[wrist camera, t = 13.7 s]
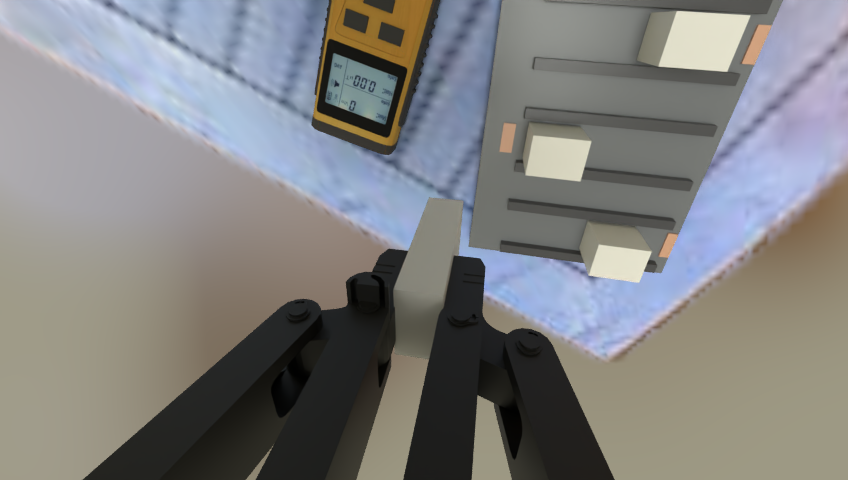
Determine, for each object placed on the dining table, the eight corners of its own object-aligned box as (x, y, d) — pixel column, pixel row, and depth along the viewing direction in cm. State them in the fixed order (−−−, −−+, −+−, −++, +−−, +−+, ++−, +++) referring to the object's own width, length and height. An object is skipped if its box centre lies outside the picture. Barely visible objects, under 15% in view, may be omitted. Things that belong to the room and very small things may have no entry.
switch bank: (504, -19, 29) (505, -23, 26) (767, -5, 27) (794, -8, 24) (469, 236, 40) (468, 250, 37) (653, 261, 38) (664, 277, 35)
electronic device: (457, -43, 29) (453, -51, 26) (400, 149, 37) (392, 159, 34) (352, -83, 29) (336, -96, 26) (317, 118, 37) (302, 126, 34)
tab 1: (529, 121, 31) (533, 135, 27) (580, 126, 31) (591, 141, 27) (522, 157, 33) (525, 175, 29) (570, 162, 32) (580, 181, 28)
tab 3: (651, 12, 26) (676, 10, 23) (713, 16, 26) (750, 15, 22) (636, 60, 28) (658, 66, 24) (695, 64, 27) (726, 72, 24)
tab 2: (587, 219, 34) (598, 244, 31) (634, 225, 34) (652, 251, 30) (579, 248, 36) (588, 275, 32) (623, 254, 35) (639, 282, 32)
